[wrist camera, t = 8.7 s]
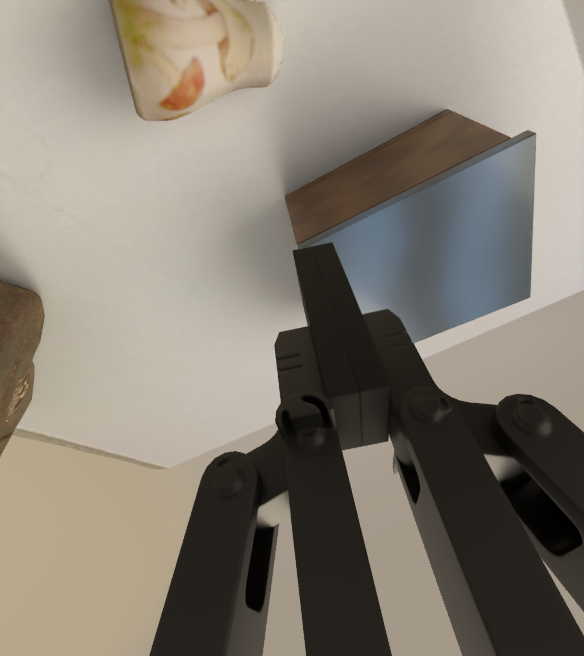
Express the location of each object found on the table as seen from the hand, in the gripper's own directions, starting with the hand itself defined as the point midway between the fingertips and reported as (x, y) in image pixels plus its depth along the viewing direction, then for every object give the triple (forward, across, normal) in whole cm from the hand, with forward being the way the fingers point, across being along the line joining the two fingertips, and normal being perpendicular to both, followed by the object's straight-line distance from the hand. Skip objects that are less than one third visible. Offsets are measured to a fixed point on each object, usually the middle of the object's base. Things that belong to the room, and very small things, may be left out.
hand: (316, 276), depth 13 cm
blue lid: (+9, +9, -8) cm, 16 cm away
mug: (+18, -3, +7) cm, 20 cm away
